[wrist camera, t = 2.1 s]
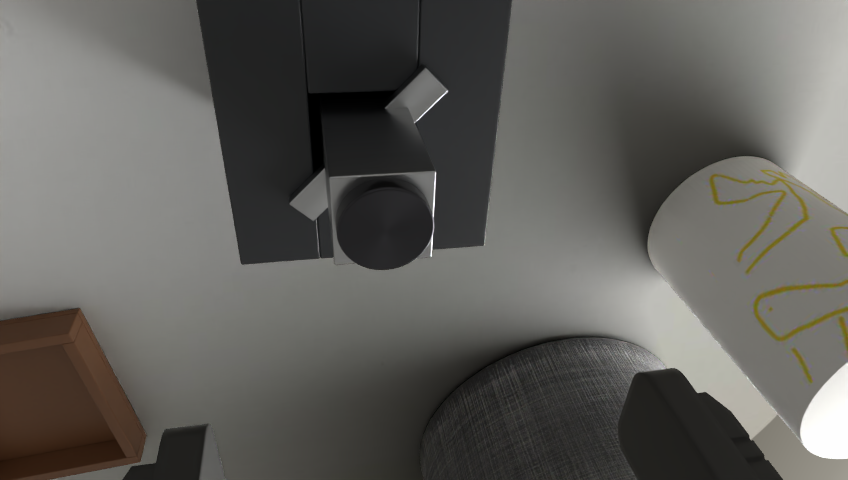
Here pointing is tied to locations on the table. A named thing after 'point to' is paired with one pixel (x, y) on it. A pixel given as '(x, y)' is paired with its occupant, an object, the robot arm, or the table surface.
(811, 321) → the white patterned cylinder
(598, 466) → the planter
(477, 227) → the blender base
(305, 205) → the grey square bar
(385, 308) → the table surface
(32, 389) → the tray
